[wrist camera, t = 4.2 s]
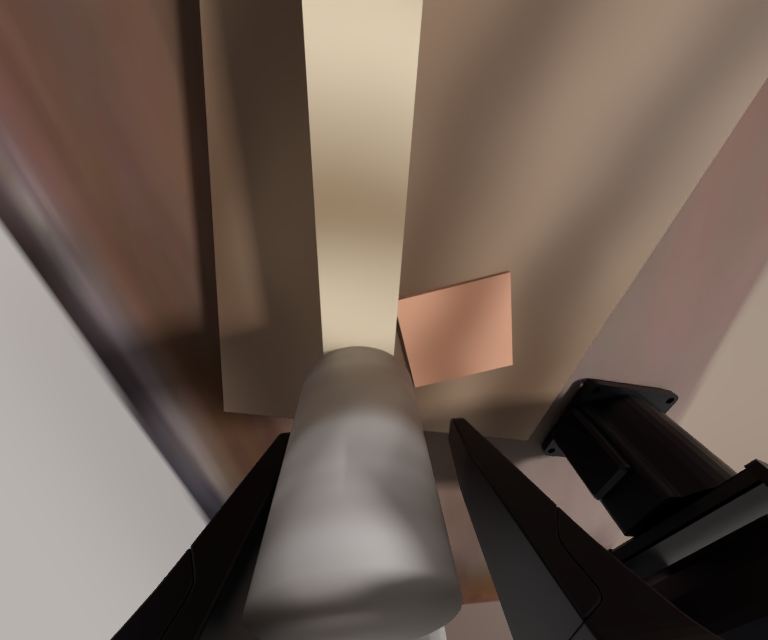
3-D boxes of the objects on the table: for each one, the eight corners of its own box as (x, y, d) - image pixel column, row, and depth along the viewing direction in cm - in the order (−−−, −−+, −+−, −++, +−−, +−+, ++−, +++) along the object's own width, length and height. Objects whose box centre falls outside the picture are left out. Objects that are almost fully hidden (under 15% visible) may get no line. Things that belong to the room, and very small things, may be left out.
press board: (923, -253, 7) (1159, -428, 5) (515, 421, 19) (536, 455, 17) (197, -778, 5) (44, -1657, 2) (235, 391, 16) (215, 427, 14)
